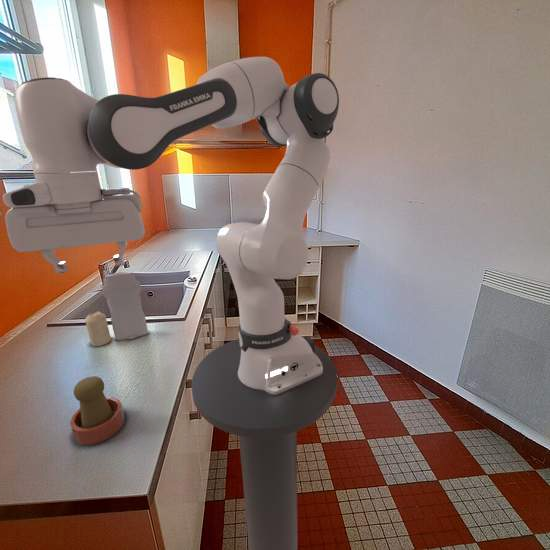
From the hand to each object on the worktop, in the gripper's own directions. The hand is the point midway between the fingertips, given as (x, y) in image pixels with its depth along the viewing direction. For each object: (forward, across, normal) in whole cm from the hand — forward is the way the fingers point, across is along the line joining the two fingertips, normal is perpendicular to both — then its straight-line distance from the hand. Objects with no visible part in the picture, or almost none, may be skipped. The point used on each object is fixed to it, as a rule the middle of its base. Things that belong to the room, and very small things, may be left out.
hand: (92, 268), depth 55 cm
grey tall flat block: (+34, +2, -36) cm, 50 cm away
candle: (+34, +11, -36) cm, 51 cm away
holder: (+34, +6, +2) cm, 34 cm away
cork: (+33, +6, +2) cm, 34 cm away
